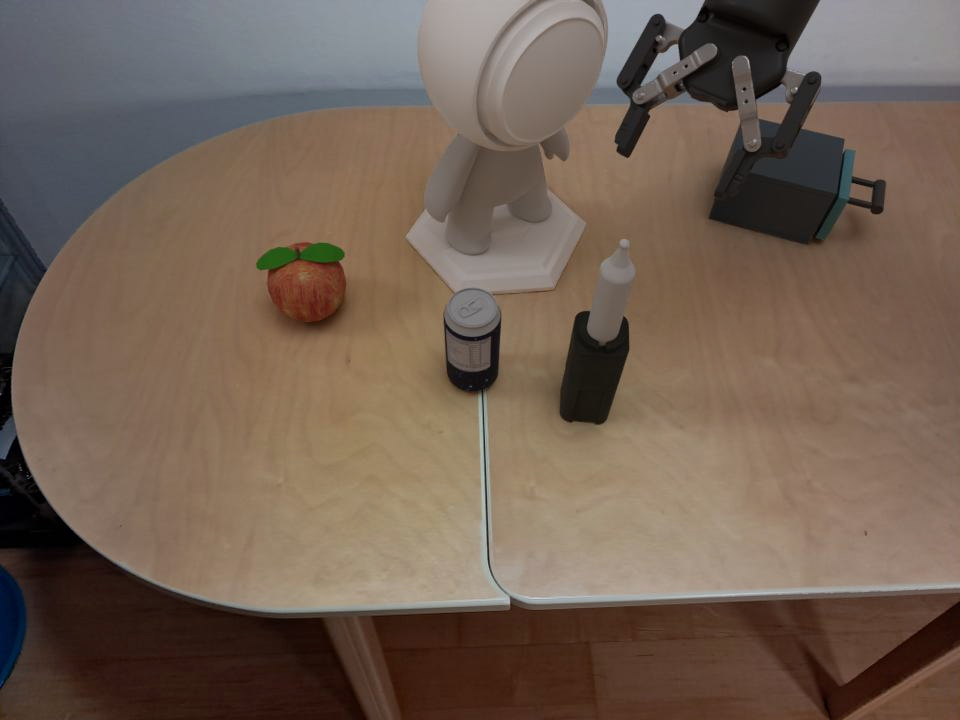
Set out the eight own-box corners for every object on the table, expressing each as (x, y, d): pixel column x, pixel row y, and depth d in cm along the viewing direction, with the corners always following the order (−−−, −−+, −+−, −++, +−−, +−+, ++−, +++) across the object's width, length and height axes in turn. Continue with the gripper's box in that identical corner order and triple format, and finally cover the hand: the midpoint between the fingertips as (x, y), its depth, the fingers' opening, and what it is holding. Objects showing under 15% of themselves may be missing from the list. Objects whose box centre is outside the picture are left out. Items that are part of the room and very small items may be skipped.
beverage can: (508, 380, 77) (513, 312, 67) (465, 405, 75) (464, 339, 65) (479, 345, 80) (480, 275, 70) (437, 368, 78) (431, 300, 68)
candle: (607, 384, 77) (656, 219, 56) (607, 425, 74) (659, 267, 53) (560, 381, 77) (592, 214, 56) (559, 421, 74) (592, 262, 53)
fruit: (350, 335, 80) (336, 278, 72) (267, 336, 80) (243, 279, 72) (356, 278, 85) (344, 218, 77) (277, 278, 85) (256, 218, 77)
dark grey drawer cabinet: (816, 191, 94) (845, 138, 87) (807, 244, 89) (836, 193, 81) (723, 167, 97) (743, 114, 90) (708, 218, 91) (728, 166, 84)
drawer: (869, 201, 92) (895, 160, 86) (864, 250, 87) (891, 210, 81) (745, 170, 95) (762, 128, 89) (733, 216, 90) (750, 175, 84)
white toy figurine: (486, 329, 81) (493, 47, 52) (382, 213, 91) (339, -76, 62) (615, 254, 87) (686, -33, 58) (505, 154, 98) (518, -132, 69)
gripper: (869, 20, 52) (755, 219, 57) (696, -38, 57) (603, 150, 61) (879, -22, 46) (748, 208, 50) (682, -85, 50) (578, 131, 55)
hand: (668, 176), depth 56 cm, fingers open, 8 cm apart
